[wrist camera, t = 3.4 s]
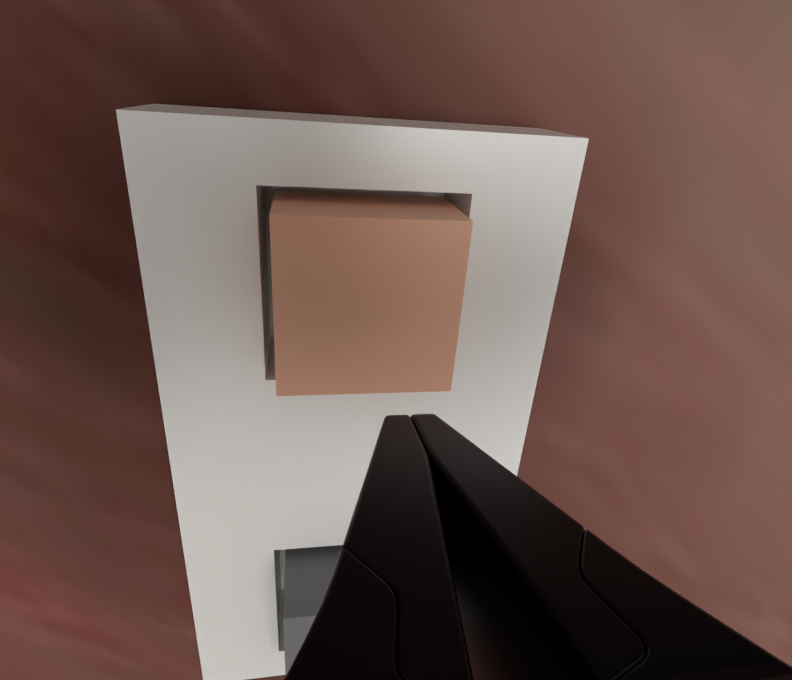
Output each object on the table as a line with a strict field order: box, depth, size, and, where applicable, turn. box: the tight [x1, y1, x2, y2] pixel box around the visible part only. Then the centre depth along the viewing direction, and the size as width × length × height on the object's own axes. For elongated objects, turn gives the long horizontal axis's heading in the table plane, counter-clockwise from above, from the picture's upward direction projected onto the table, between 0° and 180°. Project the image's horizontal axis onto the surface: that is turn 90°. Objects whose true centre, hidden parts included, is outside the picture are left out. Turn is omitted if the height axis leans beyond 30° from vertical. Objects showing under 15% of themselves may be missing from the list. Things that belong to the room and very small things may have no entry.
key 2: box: [283, 545, 343, 675], centre depth 20 cm, size 5×5×3 cm
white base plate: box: [116, 104, 589, 680], centre depth 20 cm, size 22×12×4 cm, turn 176°
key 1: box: [269, 190, 473, 396], centre depth 15 cm, size 5×5×3 cm
